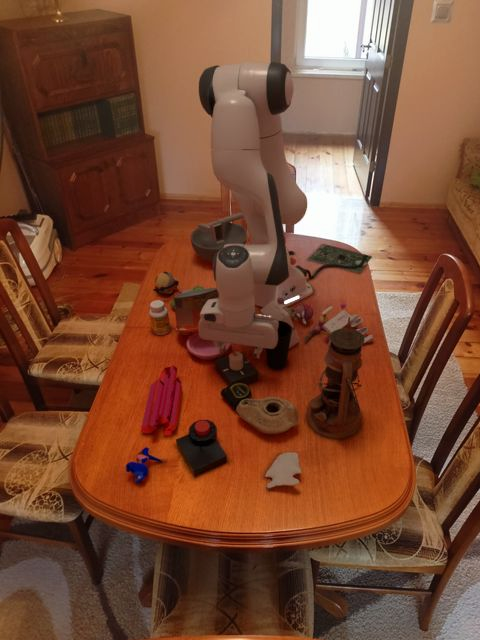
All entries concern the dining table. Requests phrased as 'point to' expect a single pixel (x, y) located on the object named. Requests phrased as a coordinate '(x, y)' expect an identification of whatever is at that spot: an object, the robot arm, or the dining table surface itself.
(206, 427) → the red button
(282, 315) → the ink box
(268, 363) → the cup
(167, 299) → the dining table surface
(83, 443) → the dining table surface
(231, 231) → the bowl
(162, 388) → the crystal
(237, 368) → the dial knob
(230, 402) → the tape measure
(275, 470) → the arrowhead
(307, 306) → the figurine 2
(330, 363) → the lantern
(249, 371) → the dial panel
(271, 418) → the oil lamp
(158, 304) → the supplement bottle
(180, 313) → the food container
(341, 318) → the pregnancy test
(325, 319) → the candy
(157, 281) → the toy
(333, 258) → the circuit board
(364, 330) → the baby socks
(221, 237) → the toilet paper hanger
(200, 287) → the toy food set
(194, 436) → the button box
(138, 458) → the figurine
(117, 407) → the dining table surface
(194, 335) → the saucer
